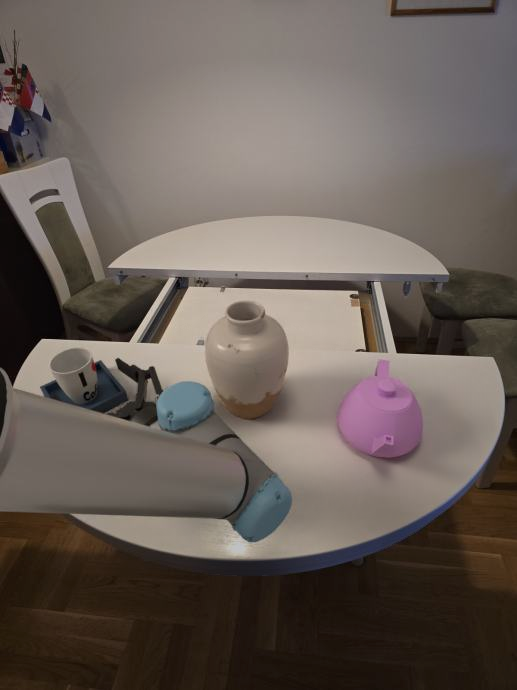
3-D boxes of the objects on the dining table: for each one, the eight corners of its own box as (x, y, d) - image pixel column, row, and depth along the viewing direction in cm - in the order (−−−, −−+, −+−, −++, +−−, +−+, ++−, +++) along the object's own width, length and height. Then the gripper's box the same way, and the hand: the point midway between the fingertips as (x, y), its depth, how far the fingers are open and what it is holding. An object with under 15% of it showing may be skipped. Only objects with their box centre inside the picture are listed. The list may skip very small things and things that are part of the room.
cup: (91, 412, 83) (76, 376, 76) (57, 406, 84) (39, 370, 78) (111, 385, 89) (99, 350, 83) (79, 380, 90) (65, 345, 84)
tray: (64, 432, 79) (60, 423, 78) (43, 395, 88) (39, 386, 86) (129, 400, 86) (126, 391, 84) (103, 368, 94) (100, 359, 93)
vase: (282, 435, 77) (285, 341, 63) (203, 426, 80) (188, 333, 66) (290, 379, 90) (293, 290, 76) (221, 373, 92) (212, 285, 78)
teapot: (338, 386, 88) (344, 342, 80) (412, 394, 85) (426, 350, 78) (333, 472, 71) (340, 426, 63) (426, 486, 68) (445, 440, 61)
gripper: (97, 501, 62) (33, 433, 74) (212, 408, 77) (144, 363, 88) (83, 472, 58) (16, 404, 69) (208, 379, 73) (137, 336, 84)
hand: (88, 381), depth 79 cm, fingers open, 13 cm apart
